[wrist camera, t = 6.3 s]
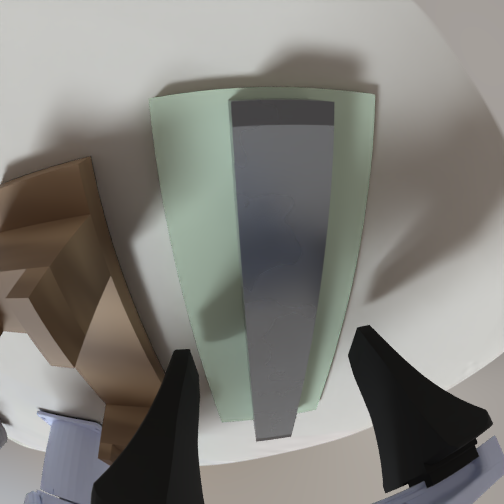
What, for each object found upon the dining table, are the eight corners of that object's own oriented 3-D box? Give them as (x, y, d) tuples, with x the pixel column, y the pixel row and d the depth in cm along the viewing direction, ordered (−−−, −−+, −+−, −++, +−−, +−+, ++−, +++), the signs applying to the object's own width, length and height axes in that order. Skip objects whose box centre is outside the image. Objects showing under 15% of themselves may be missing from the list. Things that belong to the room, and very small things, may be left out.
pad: (314, 403, 19) (315, 409, 18) (221, 415, 18) (221, 422, 18) (366, 93, 8) (374, 94, 7) (153, 98, 7) (148, 98, 7)
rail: (286, 413, 18) (291, 436, 16) (253, 417, 17) (256, 441, 16) (308, 98, 7) (334, 102, 6) (228, 100, 7) (230, 101, 5)
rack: (190, 419, 18) (191, 479, 14) (130, 417, 18) (125, 474, 13) (90, 156, 8) (-5, 226, 4) (-1, 184, 8) (-81, 251, 3)
